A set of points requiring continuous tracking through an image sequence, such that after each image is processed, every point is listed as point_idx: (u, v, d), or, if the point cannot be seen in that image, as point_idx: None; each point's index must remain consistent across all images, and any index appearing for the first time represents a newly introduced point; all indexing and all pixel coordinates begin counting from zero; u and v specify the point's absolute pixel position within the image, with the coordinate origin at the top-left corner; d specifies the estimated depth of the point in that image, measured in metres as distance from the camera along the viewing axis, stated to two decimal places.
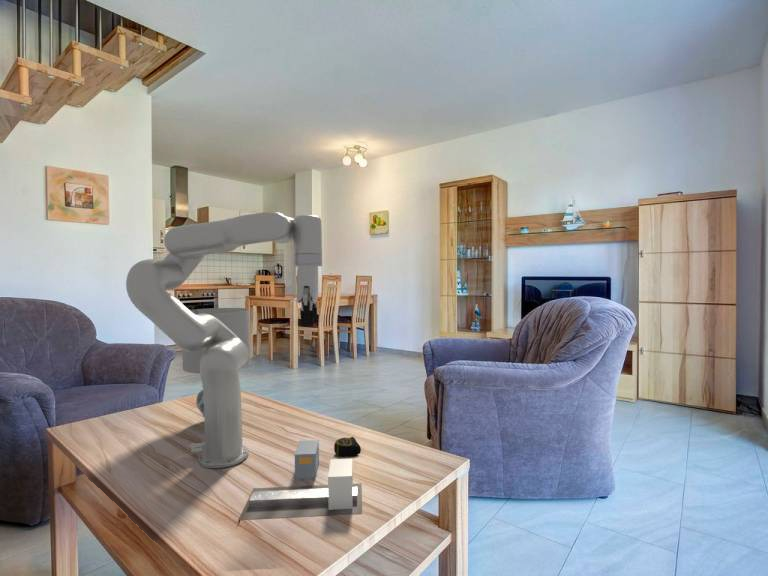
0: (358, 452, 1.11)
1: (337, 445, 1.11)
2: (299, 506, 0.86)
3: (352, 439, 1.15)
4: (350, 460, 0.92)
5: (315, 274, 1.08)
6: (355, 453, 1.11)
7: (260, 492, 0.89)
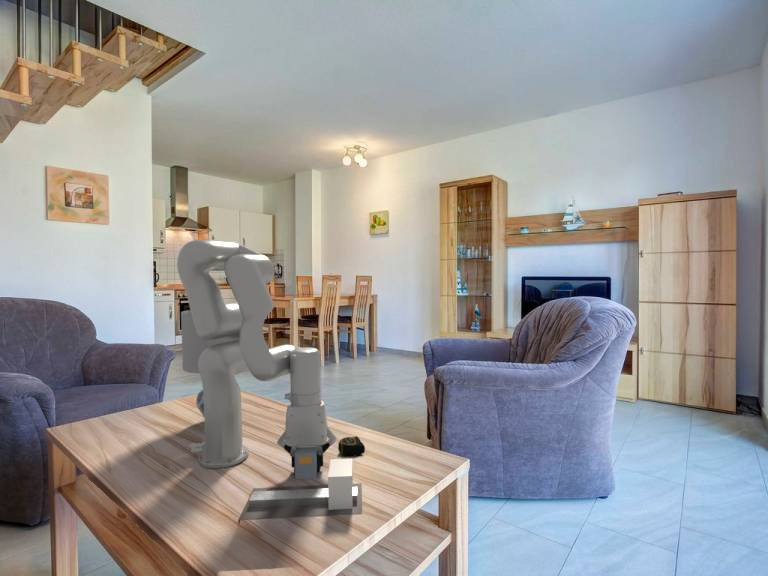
0: (362, 451, 1.11)
1: (341, 444, 1.11)
2: (299, 506, 0.86)
3: (356, 438, 1.15)
4: (350, 460, 0.92)
5: None
6: (359, 452, 1.11)
7: (260, 492, 0.89)
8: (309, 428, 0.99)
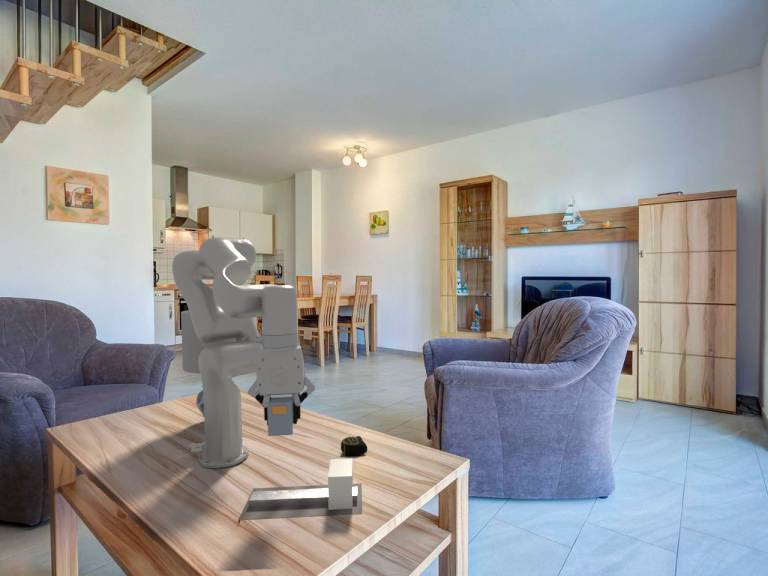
0: (365, 451, 1.11)
1: (344, 444, 1.12)
2: (299, 506, 0.86)
3: (358, 438, 1.15)
4: (350, 460, 0.92)
5: None
6: (362, 452, 1.11)
7: (260, 492, 0.89)
8: (284, 374, 0.87)
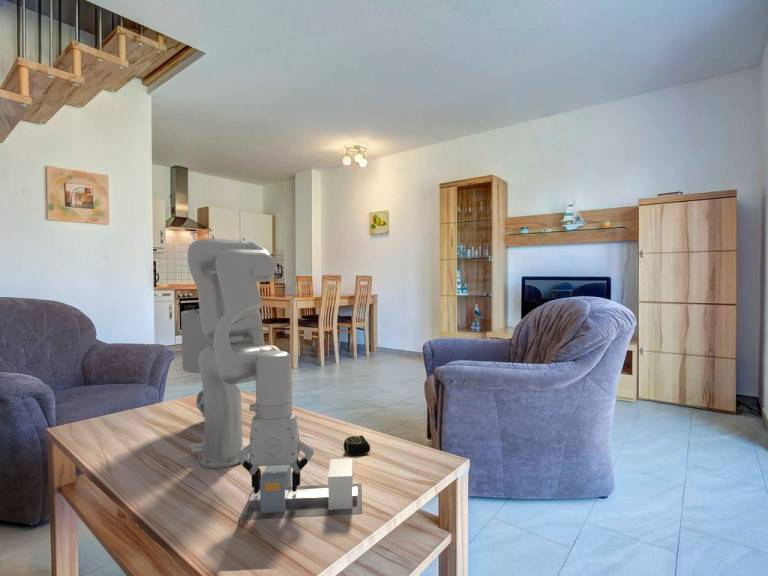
0: (367, 450, 1.12)
1: (347, 443, 1.12)
2: (299, 506, 0.86)
3: (361, 437, 1.16)
4: (350, 460, 0.92)
5: None
6: (364, 451, 1.12)
7: None
8: (277, 445, 0.85)
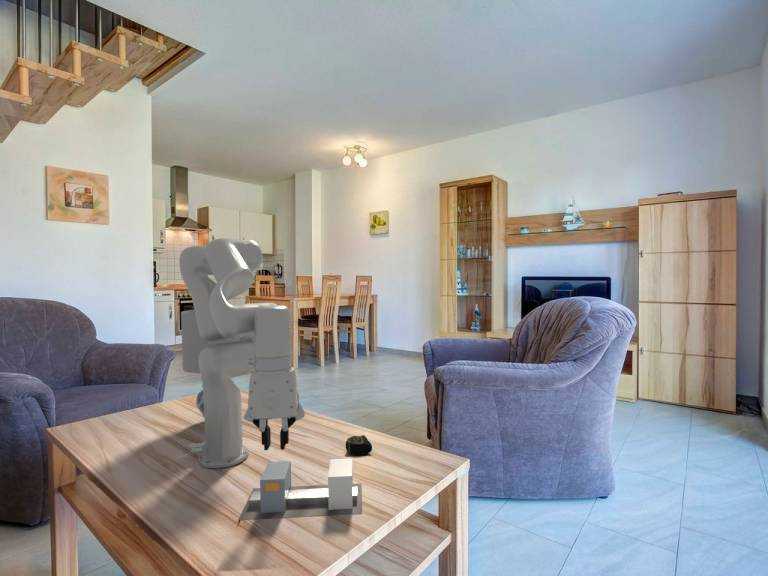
0: (369, 450, 1.12)
1: (349, 443, 1.12)
2: (299, 506, 0.86)
3: (363, 437, 1.16)
4: (350, 460, 0.92)
5: None
6: (366, 451, 1.12)
7: None
8: (276, 397, 0.85)
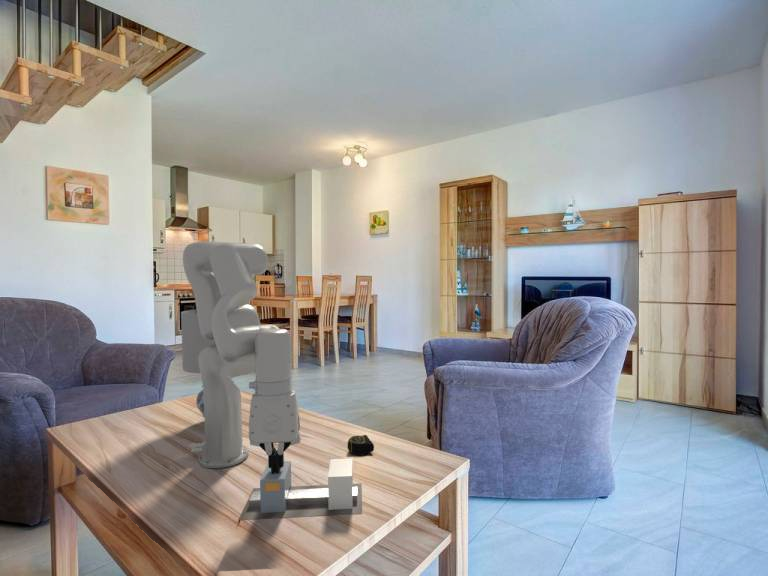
0: (371, 450, 1.12)
1: (350, 443, 1.12)
2: (299, 506, 0.86)
3: (365, 437, 1.16)
4: (350, 460, 0.92)
5: None
6: (368, 451, 1.12)
7: None
8: (277, 422, 0.85)
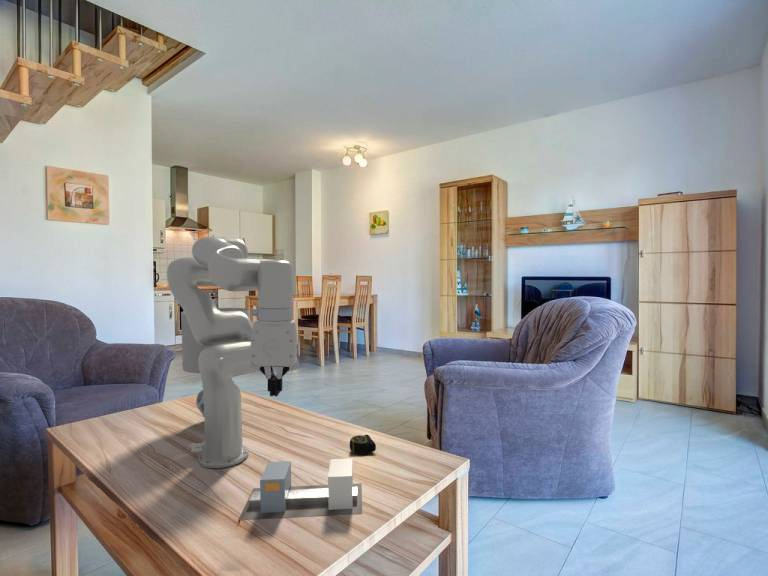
0: (373, 449, 1.12)
1: (352, 442, 1.13)
2: (299, 506, 0.86)
3: (367, 436, 1.16)
4: (350, 460, 0.92)
5: None
6: (370, 450, 1.12)
7: None
8: (276, 347, 0.89)
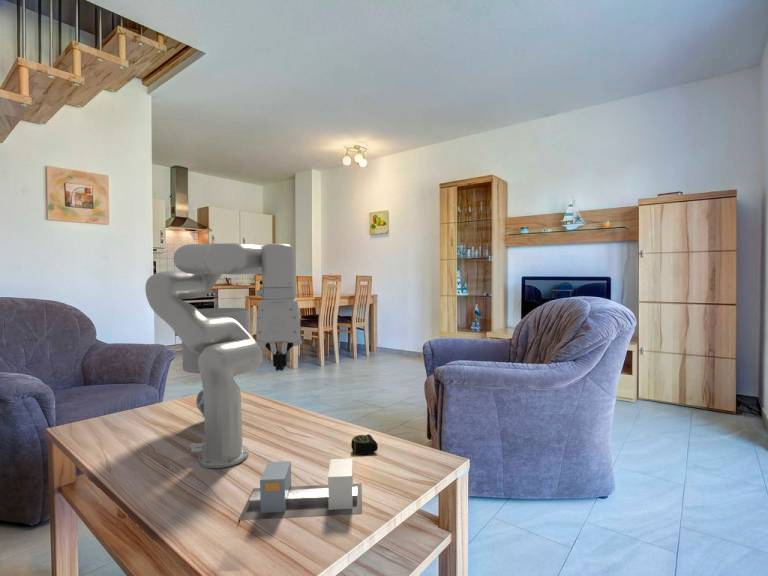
0: (375, 449, 1.13)
1: (354, 442, 1.13)
2: (299, 506, 0.86)
3: (369, 436, 1.16)
4: (350, 460, 0.92)
5: None
6: (372, 450, 1.12)
7: None
8: (281, 323, 0.96)
